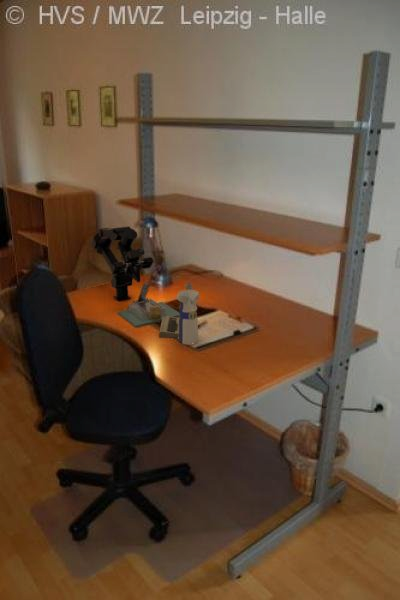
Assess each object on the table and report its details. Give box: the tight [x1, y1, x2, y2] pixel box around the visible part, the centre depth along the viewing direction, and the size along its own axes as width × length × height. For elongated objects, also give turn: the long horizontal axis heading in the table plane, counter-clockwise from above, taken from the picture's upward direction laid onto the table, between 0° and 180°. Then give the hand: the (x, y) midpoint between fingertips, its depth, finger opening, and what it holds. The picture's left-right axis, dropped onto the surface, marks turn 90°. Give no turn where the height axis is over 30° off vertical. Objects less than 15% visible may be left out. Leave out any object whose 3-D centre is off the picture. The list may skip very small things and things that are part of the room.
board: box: [117, 301, 180, 329], centre depth 204 cm, size 18×22×1 cm
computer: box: [158, 316, 179, 339], centre depth 190 cm, size 16×8×3 cm, turn 179°
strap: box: [137, 282, 151, 302], centre depth 203 cm, size 12×3×1 cm
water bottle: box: [176, 281, 200, 346], centre depth 176 cm, size 8×9×25 cm
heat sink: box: [128, 297, 166, 321], centre depth 202 cm, size 15×11×6 cm
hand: (139, 281), depth 204 cm, fingers closed
